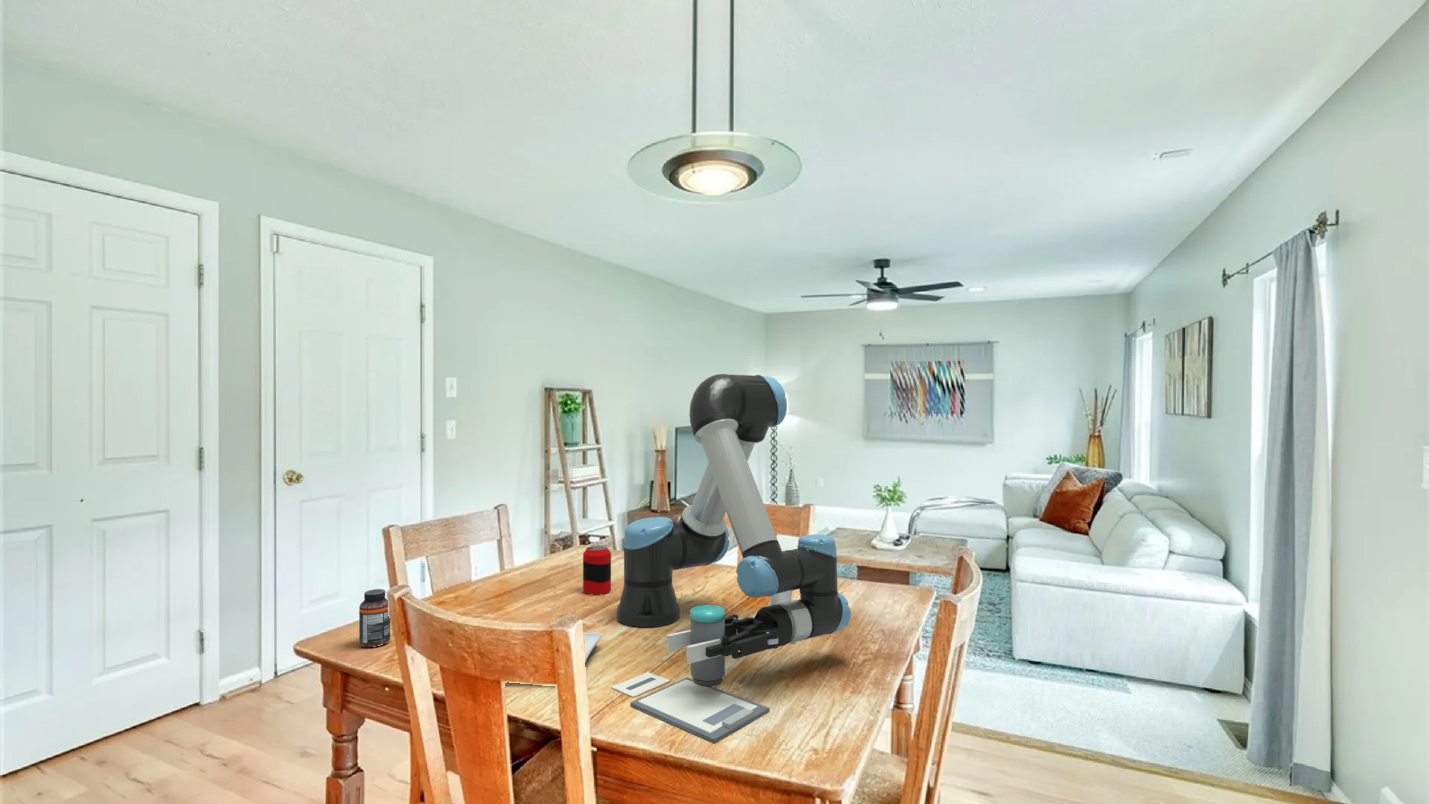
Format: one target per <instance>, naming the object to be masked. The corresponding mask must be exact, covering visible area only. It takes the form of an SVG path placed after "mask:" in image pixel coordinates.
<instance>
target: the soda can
mask: <svg viewBox="0 0 1429 804" xmlns="http://www.w3.org/2000/svg"><path fill="white" fill-rule="evenodd" d="M582 560H583V561H582V591H583V594H585V593H586V594H585V595H587V594H593V595H592V596H601V595H600V594H603V595H607V594H609V593H610V592H611V591H612V552H611V550H610V549H609V548H608V547H607V546H604V545H593V546H589V547H587V548H586V549H585V550H584V552H583V553H582Z"/></svg>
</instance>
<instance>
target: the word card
mask: <svg viewBox="0 0 1429 804" xmlns="http://www.w3.org/2000/svg"><path fill="white" fill-rule="evenodd" d="M670 682H671V680H670V679H667V678H665V677H662V676H659V675H658V674H657V675H656V674H654V673H651V672H649V671H647V672H645V673H642V674H640V675H637V676H635V677H632V678H630V679H628V680H624V681H623V682H619V683H617V684H615V685H612V686H611V689H613V690H615V691H617V692H620V693H622V694H624V695H627V696H629V697H631V698H636V697H638V696H641V695H642V694H643V695H644V694H646V693H648V692H649V691H652V690H655V689H656V688H659V687H662V686H663V685H666V684H668V683H670Z"/></svg>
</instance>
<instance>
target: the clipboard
mask: <svg viewBox="0 0 1429 804" xmlns="http://www.w3.org/2000/svg"><path fill="white" fill-rule="evenodd" d="M629 703H630V707H632V708H635V709H637V710H638V711H641V712H643V713H645V714H648V715H650V716H651V717H654V718H657V719H659V720H661V721H663V722H665V723H668V724H669V725H672V726H674V727H677V728H679V729H681V730H683V731H686V732H687V733H690V734H692V735H694V736H697V737H699V738H701V739H704V740H705V741H708V742H710V743H713V744H715V743H718V742H719V741H721V740H723V739H724V738H726V737H728V736H729V735H731V734H733V733H735V732H737V731H738V730H740V729H742V728H744V727H745V726H747V725H749V724H750V723H752V722H754V721H755V720H758V719H759V718H761V717H762V716H764V715H766V714H768V713H770V707H768V706H766V705H763V704H761V703H758V702H754V701H752V700H751V699H747V698H744V697H741V696H739V695H736V694H734V693H730V692H728V691H725V690H722V689H720V688H718V687H716V686H711V687H704V686H699V685H696V684H695V683H694V682H693V678H690V677H688V676H686V677H684V678H683V679H680V680H678V681H676V682H673V683H670V684H669V685H666V686H664V687H662V688H659V689H658V690H655V691H653V692H651V693H649V694H646V695H643V696H642V697H640V698H637V699H635V700H632V701H630V702H629Z"/></svg>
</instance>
